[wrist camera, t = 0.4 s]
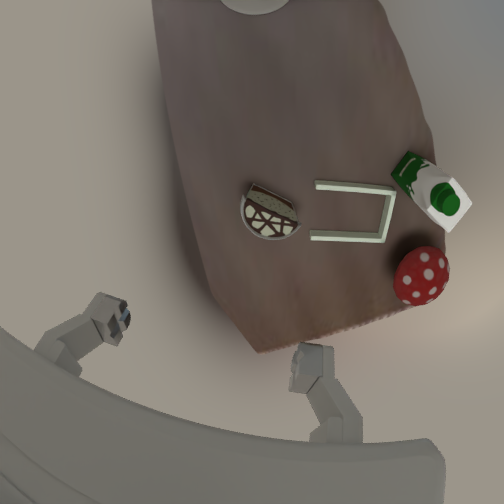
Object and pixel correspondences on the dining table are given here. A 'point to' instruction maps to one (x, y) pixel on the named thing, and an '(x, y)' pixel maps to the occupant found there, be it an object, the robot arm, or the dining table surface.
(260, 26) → the dining table surface
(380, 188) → the pale green u-shaped frame
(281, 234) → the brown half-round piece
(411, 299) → the decorative mushroom
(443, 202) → the milk carton
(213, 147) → the dining table surface
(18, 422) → the robot arm
